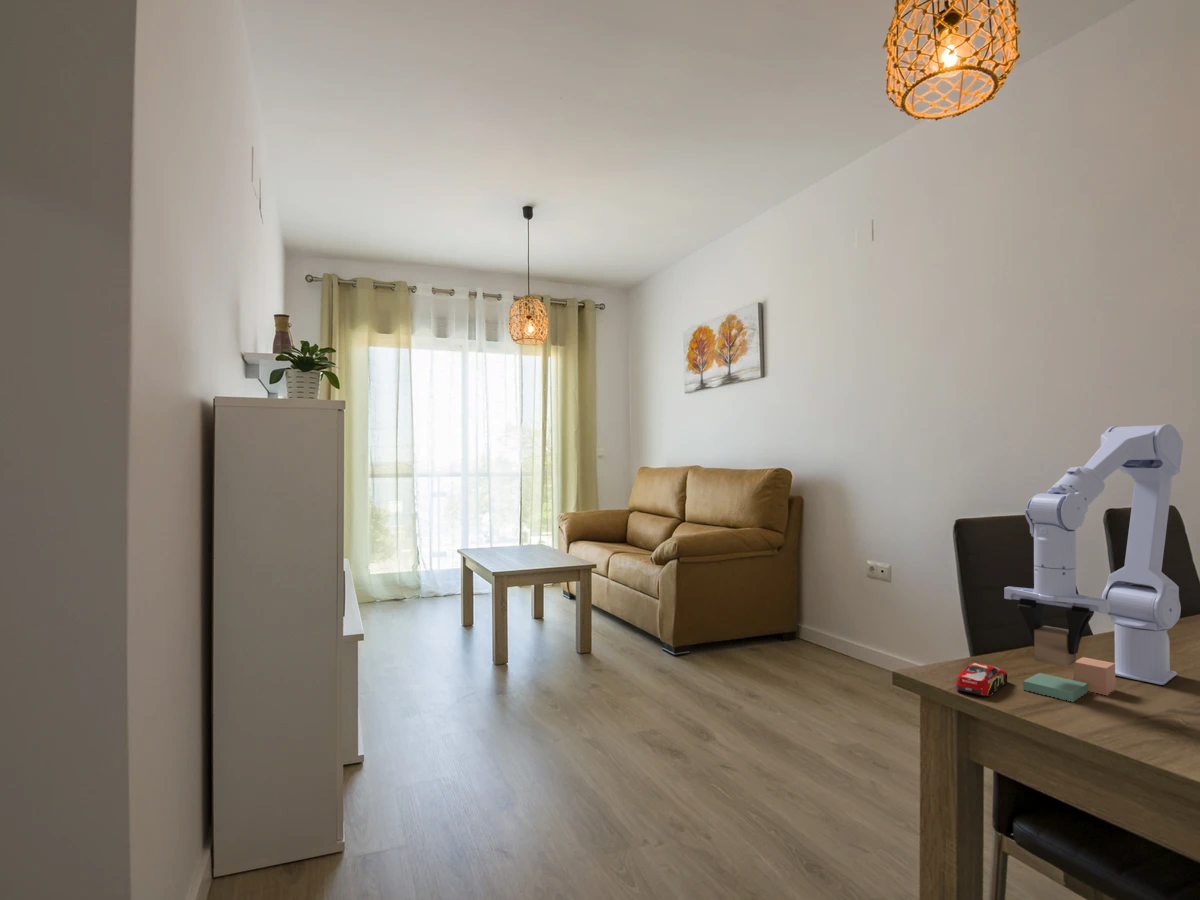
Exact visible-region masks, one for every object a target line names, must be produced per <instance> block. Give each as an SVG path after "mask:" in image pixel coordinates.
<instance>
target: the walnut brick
mask: <svg viewBox="0 0 1200 900" xmlns="http://www.w3.org/2000/svg"><path fill="white" fill-rule="evenodd" d="M1068 640H1069V631H1068V628H1067V629H1066V628H1061V627H1054V626H1049V625H1042V627H1040V628H1038V629H1035V630H1034V647H1033V648H1034V651H1033V652H1034V653H1033V654H1034V657H1033V658H1034V661H1035V662H1041V663H1045V664H1049V665H1055V666H1060V667H1064V668H1067V667H1068V666H1071V665H1073V664H1074V662H1076V660H1077V657H1076V656H1077V653H1076V654H1074V655H1073V654H1069V650H1068Z"/></svg>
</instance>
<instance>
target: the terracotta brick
mask: <svg viewBox="0 0 1200 900" xmlns="http://www.w3.org/2000/svg"><path fill="white" fill-rule="evenodd" d="M1073 680H1074V681H1079V682H1083V683H1088V691H1090V692H1089V693H1091V692H1095V693H1094V694H1096V693H1099V694H1098V695H1100V694H1104V695H1107V694H1109V693H1110V692H1112V691H1113V690H1115V691H1116V675H1115V662H1111V661H1106V660H1100V659H1095V658H1090V657H1085V656H1081V658H1078V659H1076V662H1074V663H1073ZM1113 692H1114V691H1113ZM1113 692H1112V693H1113ZM1110 694H1111V693H1110ZM1110 694H1109V695H1110ZM1104 695H1103V696H1104ZM1107 696H1108V695H1107Z"/></svg>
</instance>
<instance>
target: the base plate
mask: <svg viewBox="0 0 1200 900" xmlns="http://www.w3.org/2000/svg"><path fill="white" fill-rule="evenodd" d="M1022 685H1023V686H1022V691H1024V690H1026V691H1025V692H1028V691H1031V692H1030V693H1033V692H1035V693H1034V694H1037V693H1038V694H1037V695H1041V694H1042V696H1045V695H1047V696H1046V697H1049V696H1051V697H1050V698H1053V697H1055V698H1054V699H1057V698H1059V699H1058V700H1061V701H1062V700H1063V701H1066V700H1067V702H1070V701H1071V702H1070V703H1074V702H1075V700H1076V701H1077V700H1079V699H1081V698H1082V697H1084V696H1085V695H1087V694H1088V693H1089V692H1088V683H1083V682H1079V681H1074V679H1069V678H1064V677H1061V676H1056V675H1050V674H1047V673H1042V672H1038V673H1036V674H1035V675H1032V676H1030V677H1029V678H1027V679H1024V680H1023V682H1022ZM1087 692H1088V693H1087ZM1084 694H1085V695H1084ZM1081 696H1082V697H1081ZM1078 698H1079V699H1078Z"/></svg>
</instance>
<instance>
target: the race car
mask: <svg viewBox="0 0 1200 900" xmlns="http://www.w3.org/2000/svg"><path fill="white" fill-rule="evenodd" d="M1007 682H1008V673H1007V672H1006V670H1005V669H1002V668H999V667H997V666H993V665H990V664H984V663H978V662H970V663H967V664H966V666H965V667H964V668H963V669H962V670H961V672H960V673H959V674H957V676H956V680H955V690H957V691H960V692H966V693H970V694H975V695H977V696H988V697H991V696H992V695H991V694H992V693H993V694H994V693H996V692H997V691H998V690H999V689H1001V687H1003V686H1005V685H1006V684H1005V683H1007ZM1004 684H1005V685H1004ZM990 695H991V696H990Z"/></svg>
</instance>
